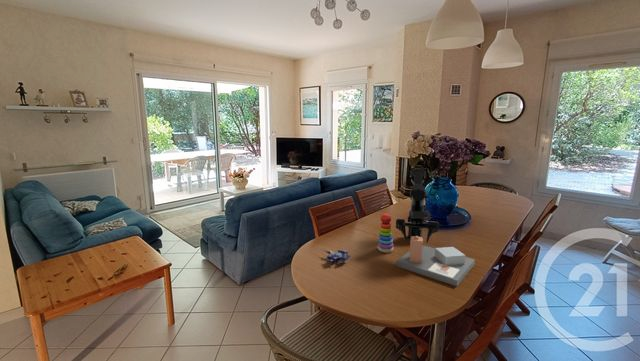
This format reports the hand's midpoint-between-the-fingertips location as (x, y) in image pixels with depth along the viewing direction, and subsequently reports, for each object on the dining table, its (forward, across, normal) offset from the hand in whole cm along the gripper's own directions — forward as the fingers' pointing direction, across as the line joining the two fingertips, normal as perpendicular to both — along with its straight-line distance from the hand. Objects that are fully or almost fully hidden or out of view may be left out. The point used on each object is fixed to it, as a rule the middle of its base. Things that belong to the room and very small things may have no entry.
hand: (416, 242), depth 135 cm
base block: (+4, +14, +6) cm, 16 cm away
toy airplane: (+12, -35, +2) cm, 38 cm away
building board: (+7, +9, +7) cm, 13 cm away
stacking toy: (0, -14, +14) cm, 20 cm away
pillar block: (+7, 0, +4) cm, 8 cm away
